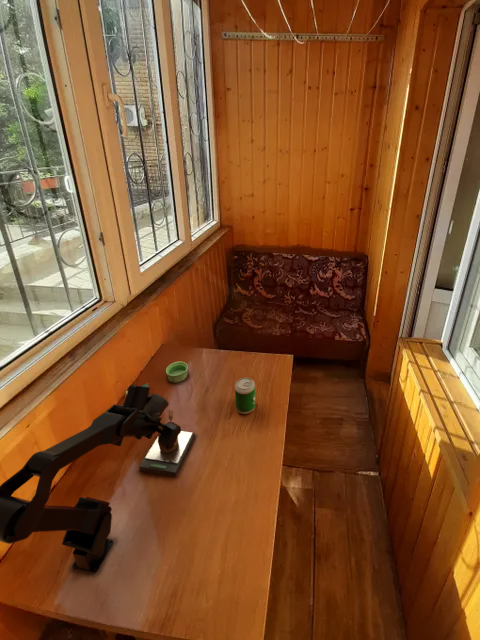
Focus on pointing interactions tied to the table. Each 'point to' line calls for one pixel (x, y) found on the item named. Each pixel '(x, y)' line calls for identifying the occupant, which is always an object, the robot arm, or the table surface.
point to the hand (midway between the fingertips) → (170, 425)
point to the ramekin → (177, 371)
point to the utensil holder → (176, 439)
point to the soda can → (245, 395)
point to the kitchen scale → (167, 456)
